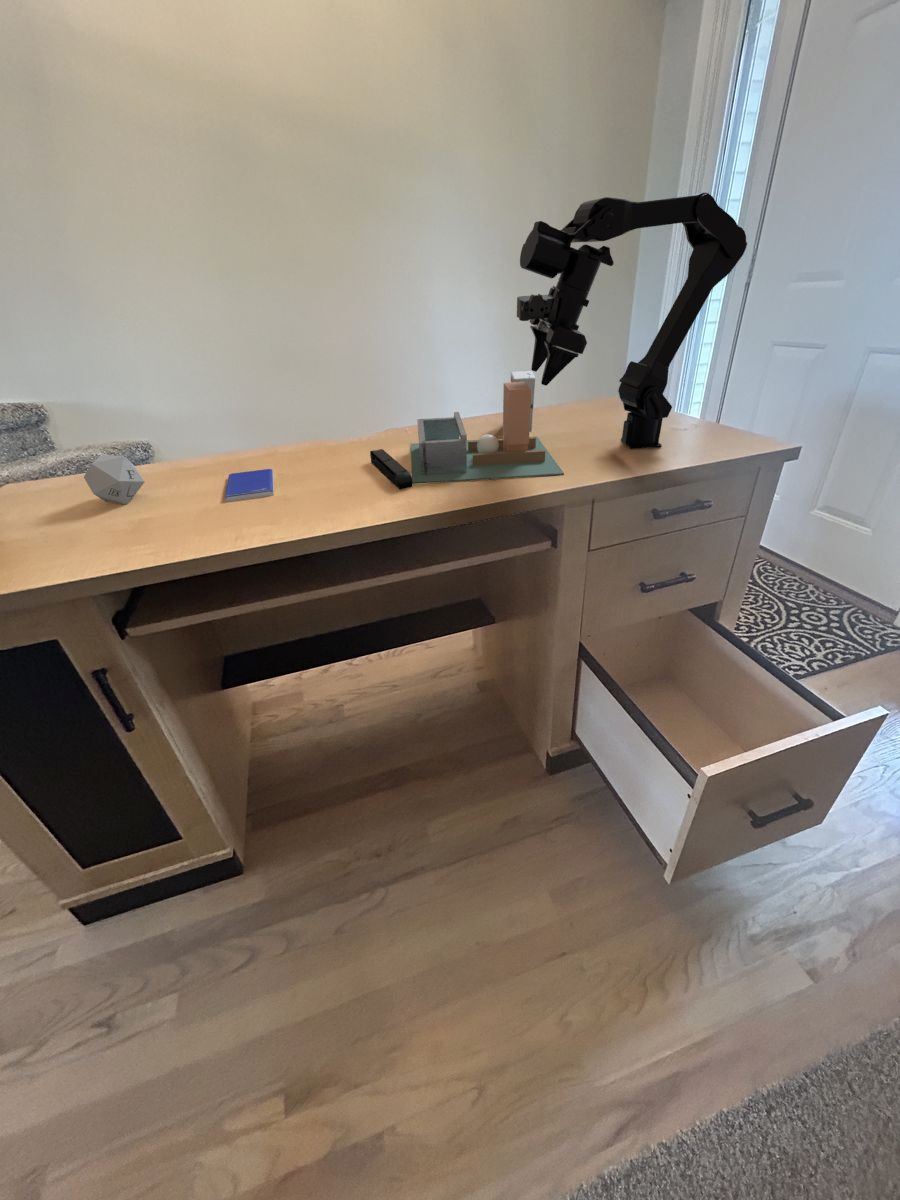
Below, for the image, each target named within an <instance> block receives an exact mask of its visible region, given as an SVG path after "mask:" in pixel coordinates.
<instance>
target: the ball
mask: <svg viewBox="0 0 900 1200" xmlns="http://www.w3.org/2000/svg"><path fill="white" fill-rule="evenodd" d="M497 439H498V438H497V437H496V436H495V435H493V434H489V433H487V434H483V435H482V436H480V438H479V439H477V440H478V443H477V450H478V452H479V453H497V451H498V449H499V442H498V440H497Z"/></svg>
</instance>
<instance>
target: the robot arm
mask: <svg viewBox="0 0 900 1200" xmlns="http://www.w3.org/2000/svg"><path fill="white" fill-rule="evenodd" d="M533 224H534V225H533V227H532V230H531V231H530V232H529V234H528V236H527V237H526V240H525V242H524V243H523V244H522V247H521V251H520V255H519V256H520V257H519V265H520V268H521V269H523V270H526V271H529V272H531V273H535V274H537V275H540V276H544V277H546V278H548V279H551V280H552V279H554V278H556V277H557V275H559V278H558V281H557V283H556V286H555V285H552V287H550V289H549V291H548V294H540V293H538V294H531V295H521V296H517V297H516V317H517V318H518V321H521V322H529V323H530V324H531V325H530V326H529V328H530V329H531V332H532V334H533V336H534V345H533V355H532V359H531V360H532V362H531V370H530V371H532V372H537V371H538V370H539V369H540V368H541V367H542V365H543V364H544V362H545V364H544V368H543V372H542V376H541V377H542V378H541V382H540V383H541V385H542V386H548V385H549V384H550V383H551V382H552V380H554V379H555V378H556V376H558V375H559V374H560V373H561V372H562V370H564V369H565V368H566V367H567V366H568V365H569V364H570V363H571V362H572V361H573V360H574V359H576V358H578V357H579V356H580V354H581V355H583V354H584V351H585V349H586V346H587V345H588V340H587V338H586V335H585V334H584V333H582V332H581V331H580V330H579V329H580V328H579V327H580V325H578V324H577V323H578V321H579V318H580V316H581V314H582V311H583V308H584V307H586V308H588V306H589V303H590V300H589V299H587V298H588V296H589V294H590V291H591V289H592V286H593V285H594V281H595V278H596V276H597V274H598V271H599V268H600V265H601V264H603V265H606V266H609V267H612V266H613V265H614V264H615V262H614V259H613V257H612V255H611V254H612V253H611V247H609V246H605V245H602V246H601V247H599V248H597V247H594V246H592V245H589V244H582V245H581V246H580V247H579V248H575V247H572V246H571V245H572V244H573V243H596V242H606V241H609V240H611V239H614V238H616V237H617V238H618V237H619V236H622V235H625V234H627V233H629V232H632V231H635V230H637V229H644V228H653V227H660V226H667V225H674V224H682V226H683V227H684V230H685V236H686V241H687V242H688V243H689V245H690V246H691V247H692V252H691V254H690V256H689V260H688V269H687V270H688V271H687V278H686V280H685V282H684V284H683V286H682V288H681V290H680V291H679V293H678V295H677V297H676V299H675V300H674V302H673V304H672V306H671V308H670V310H669V312H668V314H667V315H666V317H665V319H664V321H663V323H662V325H661V327H660V329H659V330H658V332H657V334H656V336H655V337H654V339H653V341H652V343H651V345H650V347H649V349H648V351H647V353H646V354H645V356H644V357H643V358H642V359H641V360H638V362H635V361H629V363H628V364H627V366H626V370H625V372H624V374H623V375H622V377H621V378H619V383H620V384H619V387H618V391H617V393H618V395H619V399H620V401H621V402H622V404H623V408H624V409H623V410H624V411H625V412H627V416H626V420H624V421H623V428H622V433H621V435H622V436H621V438H620V442H622V443H623V444H624V445H626V446H627V448H629V449H630V450H637V449H638V450H640V449H654V448H662V443H660V436H661V431H662V425H663V419H666V418H668V417H669V415H670V413H671V411H672V409H673V406H672V404H671V402H669V401H668V399H667V398H666V396H665V395H664V393H665V390H666V388H667V385H668V381H669V378H668V377H669V368H670V365H671V363H672V362H673V360H674V358H675V356H676V355H677V352H678V350H679V349H680V348H681V345H682V344H683V342H684V340H685V339H686V336H687V335H688V333H689V331H690V330H691V328H692V326H693V324H694V322H695V320H696V319H697V317H698V315H699V313H700V312H701V309H702V308H703V306H704V304H705V303H706V301H707V299H708V298H709V296H710V294H711V292H712V290H713V289H714V288H715V287H716V286H717V285H718V284H719V283H720V282H721V281H723V279H725V278H726V277H727V276H728V275H730V273H731V272H732V271H733V269H734V268H735V267H736V265H737V264H738V262H739V261H740V260H741V259H742V257H743V256H744V254H745V251H746V249H747V246H748V242H747V235H746V232H745V229H744V228H742V227H741V226H739V225H738V223H737V222H736V220H735V219H734V218H733V217H732V215H730V214H729V213H728V212H726V210H724V209H723V208H722V207H721V206H719V204H718V203H717V201H716V200H715V199H714V196H713V195H712V194H710V193H709V192H700V193H693V194H689V195H687V196H679V197H672V198H665V199H663V198H661V199H654V200H646V201H640V202H639V201H631V200H629V199H626V198H624V199H623V198H617V197H605V196H604V197H600V198H596V199H591V200H588V201H584V202H582V203H581V204H580V205H579V206H578V208H577V209H576V210H575V214H574V216H573V218H572V219H571V220H570V221H569V222H568V223H567V224H566V225H565V226H564V227H563V228H562V229H558V228H556V227H553V226H551V225H550V224H549V223H547V222H545V221H542V220H538V221H535V222H534V223H533Z"/></svg>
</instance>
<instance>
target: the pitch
mask: <svg viewBox="0 0 900 1200" xmlns="http://www.w3.org/2000/svg"><path fill="white" fill-rule="evenodd" d="M503 439H504V437H503V438H502V437H501V438H497V440H498V442H499V449H498V451H497V453H479V452H478V450H477V443H478V440H479V439H471V440H468V439H467V441H466V452H467V473H454V474H437V475H421V466H420V452H419V442H417V443H410V463H411V464H410V466H411V472H410V474H411V477H412V485H417V484H418V485H419V484H432V483H433V484H436V483H452V482H466V481H483V480H484V481H485V480H486V481H487V480H498V479H499V480H500V479H516V478H517V479H518V478H532V477H547V476H551V477H552V476H564V475H565V472H564V471H563V469H562V468H561V467H560V466H559V464H558V463H557V462H556V460H555V459H554V458H553V456H552V455H551V454H550V452H549V450H548V449H547V448H546V446H545V445H544V444H543V443H542V441H541V440H540V439H539V437H538V436H537V435H536V436H529V444H528V451H513V452H504V451H503Z"/></svg>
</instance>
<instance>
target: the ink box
mask: <svg viewBox="0 0 900 1200" xmlns="http://www.w3.org/2000/svg"><path fill="white" fill-rule="evenodd" d="M512 382H525V383H526V384H527V385H528V386H529V387H530V388H531V407H530V429H529V433H531V432H532V427H533V414H534V401H535V389H536V387H535V386H536V376H535V374H534V371H532V370H526V371H525V370H522V371H511V372H510V383H512Z"/></svg>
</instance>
